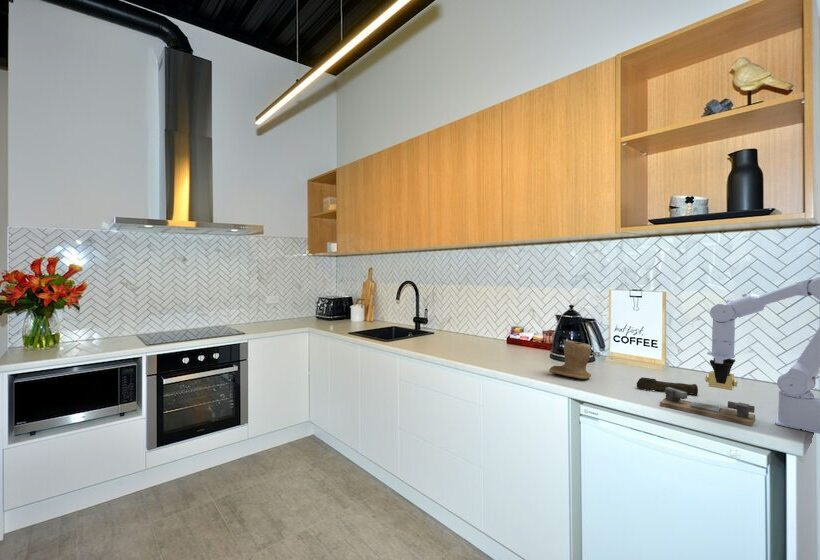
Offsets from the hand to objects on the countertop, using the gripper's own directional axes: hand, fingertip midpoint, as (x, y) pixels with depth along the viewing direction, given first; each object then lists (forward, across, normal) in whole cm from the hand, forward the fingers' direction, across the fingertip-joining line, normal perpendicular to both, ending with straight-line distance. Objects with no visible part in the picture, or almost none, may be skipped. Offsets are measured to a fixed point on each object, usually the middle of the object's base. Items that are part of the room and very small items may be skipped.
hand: (722, 381), depth 127 cm
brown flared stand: (+9, 0, -50) cm, 51 cm away
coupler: (+2, 0, 0) cm, 2 cm away
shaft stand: (+8, +9, -3) cm, 13 cm away
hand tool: (+9, -5, -17) cm, 20 cm away
